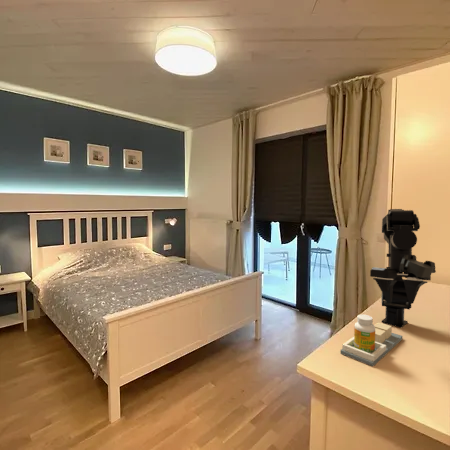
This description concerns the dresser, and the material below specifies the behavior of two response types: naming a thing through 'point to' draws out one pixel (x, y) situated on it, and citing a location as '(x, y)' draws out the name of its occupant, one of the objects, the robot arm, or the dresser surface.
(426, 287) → the dresser surface
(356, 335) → the supplement bottle
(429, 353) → the dresser surface
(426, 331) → the dresser surface
